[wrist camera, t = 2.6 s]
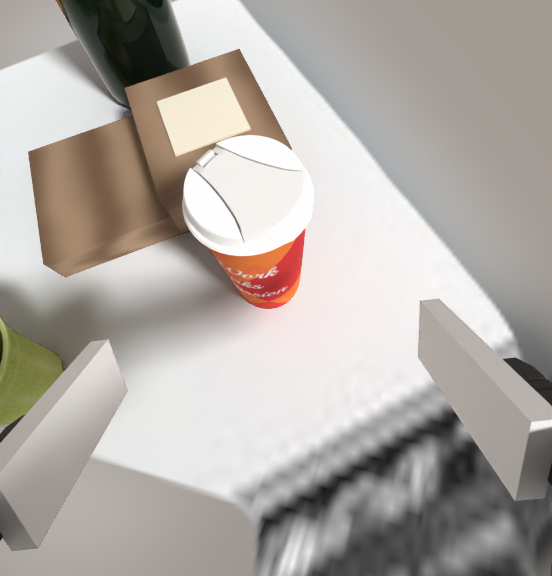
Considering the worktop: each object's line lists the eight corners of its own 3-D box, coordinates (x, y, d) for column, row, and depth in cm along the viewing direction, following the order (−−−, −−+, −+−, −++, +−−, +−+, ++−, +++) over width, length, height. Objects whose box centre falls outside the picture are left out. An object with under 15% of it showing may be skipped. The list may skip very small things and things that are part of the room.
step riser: (65, 277, 34) (15, 247, 28) (48, 171, 39) (3, 127, 33) (294, 191, 35) (291, 146, 30) (248, 100, 40) (238, 46, 35)
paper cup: (210, 286, 32) (146, 193, 19) (264, 229, 34) (239, 108, 21) (275, 339, 30) (251, 274, 17) (329, 274, 32) (345, 170, 19)
